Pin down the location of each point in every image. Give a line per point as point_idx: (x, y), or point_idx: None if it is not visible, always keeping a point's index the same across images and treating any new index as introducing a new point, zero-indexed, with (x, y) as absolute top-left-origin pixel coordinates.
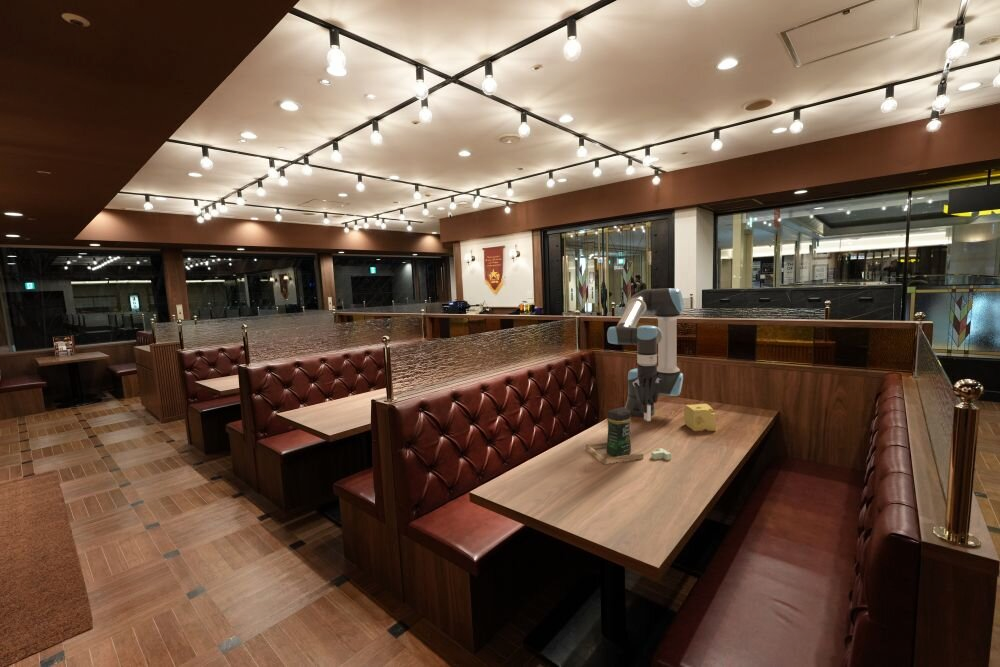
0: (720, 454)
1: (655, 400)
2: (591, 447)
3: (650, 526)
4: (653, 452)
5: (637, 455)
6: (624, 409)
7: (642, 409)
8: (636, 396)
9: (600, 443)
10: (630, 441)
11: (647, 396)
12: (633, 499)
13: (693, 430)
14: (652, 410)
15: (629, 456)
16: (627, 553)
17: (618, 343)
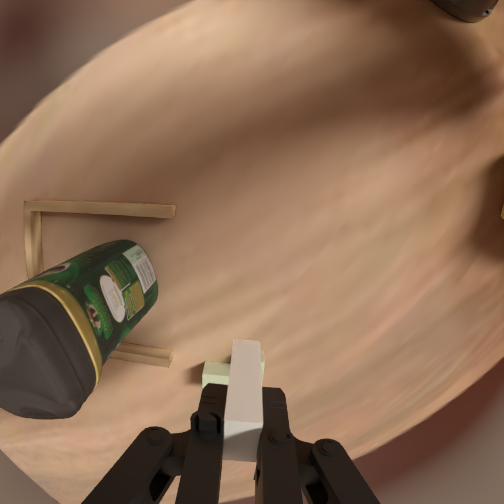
0: (410, 399)
1: (313, 489)
2: (29, 234)
3: (79, 493)
4: (206, 380)
5: (145, 362)
6: (31, 396)
7: (201, 399)
8: (105, 479)
9: (67, 209)
10: (139, 320)
11: (261, 493)
12: (72, 458)
13: (501, 214)
14: (480, 16)
15: (115, 357)
16: (47, 492)
17: None
